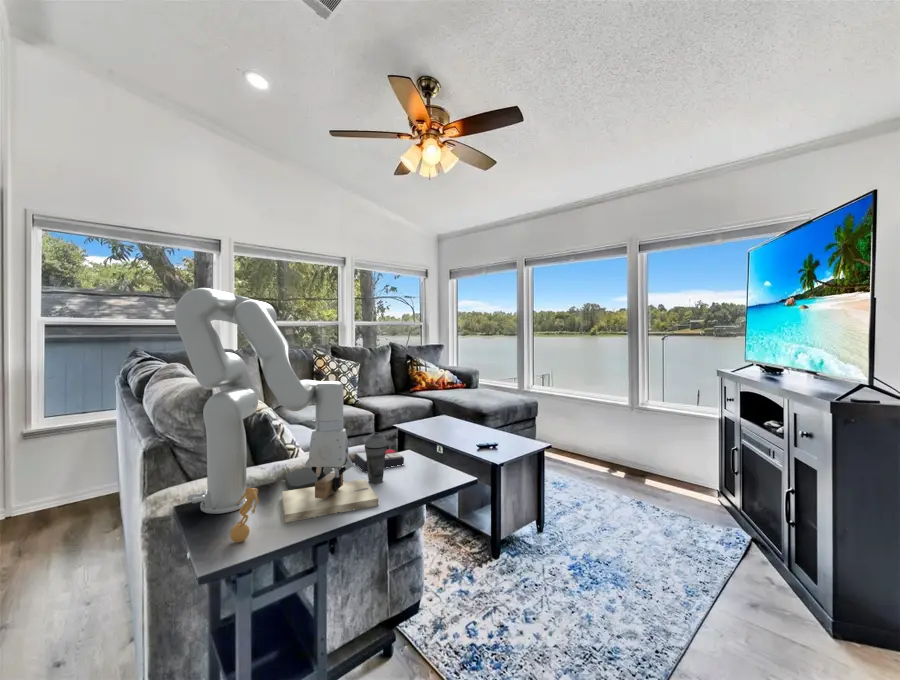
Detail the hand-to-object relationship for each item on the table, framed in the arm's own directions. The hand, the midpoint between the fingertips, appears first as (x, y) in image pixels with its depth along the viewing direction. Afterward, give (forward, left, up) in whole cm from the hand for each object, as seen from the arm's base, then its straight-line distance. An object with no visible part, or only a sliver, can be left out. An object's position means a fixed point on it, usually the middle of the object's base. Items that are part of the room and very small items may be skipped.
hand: (329, 488), depth 113 cm
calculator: (+22, +26, -4) cm, 34 cm away
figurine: (-21, -13, -4) cm, 25 cm away
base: (0, 0, -4) cm, 4 cm away
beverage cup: (+16, +10, -4) cm, 19 cm away
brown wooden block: (0, 0, -2) cm, 2 cm away
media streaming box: (-3, +18, -4) cm, 19 cm away
